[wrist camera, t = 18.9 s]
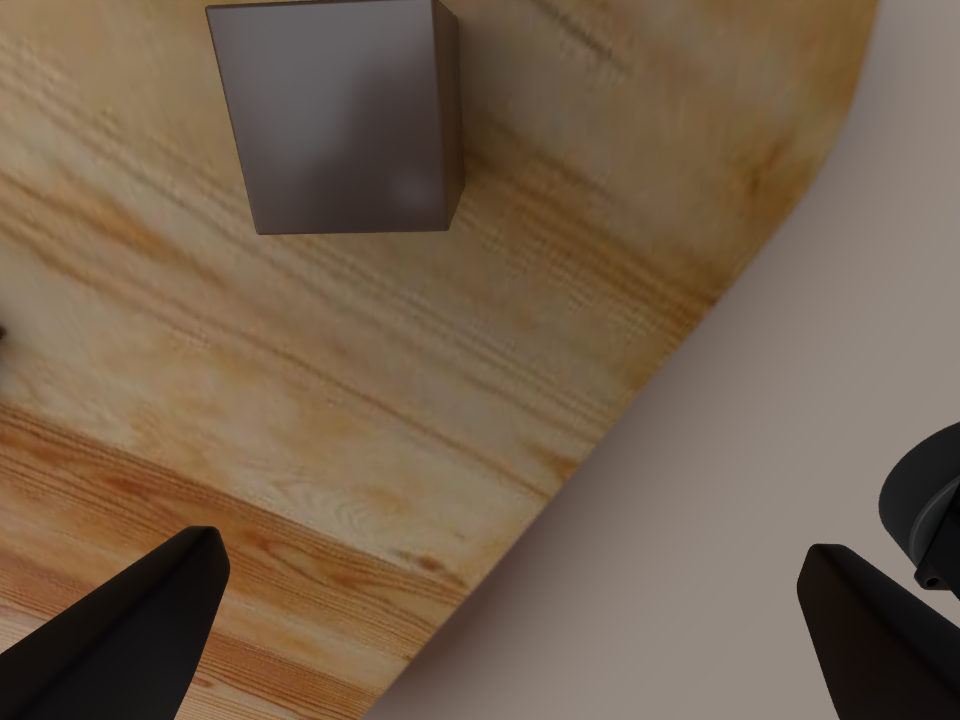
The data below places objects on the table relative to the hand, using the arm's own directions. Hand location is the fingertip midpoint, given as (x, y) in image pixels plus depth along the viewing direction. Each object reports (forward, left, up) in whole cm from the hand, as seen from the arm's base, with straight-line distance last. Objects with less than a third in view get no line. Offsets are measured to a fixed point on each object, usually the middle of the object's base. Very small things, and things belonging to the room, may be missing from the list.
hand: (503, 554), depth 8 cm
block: (+4, -6, -11) cm, 13 cm away
